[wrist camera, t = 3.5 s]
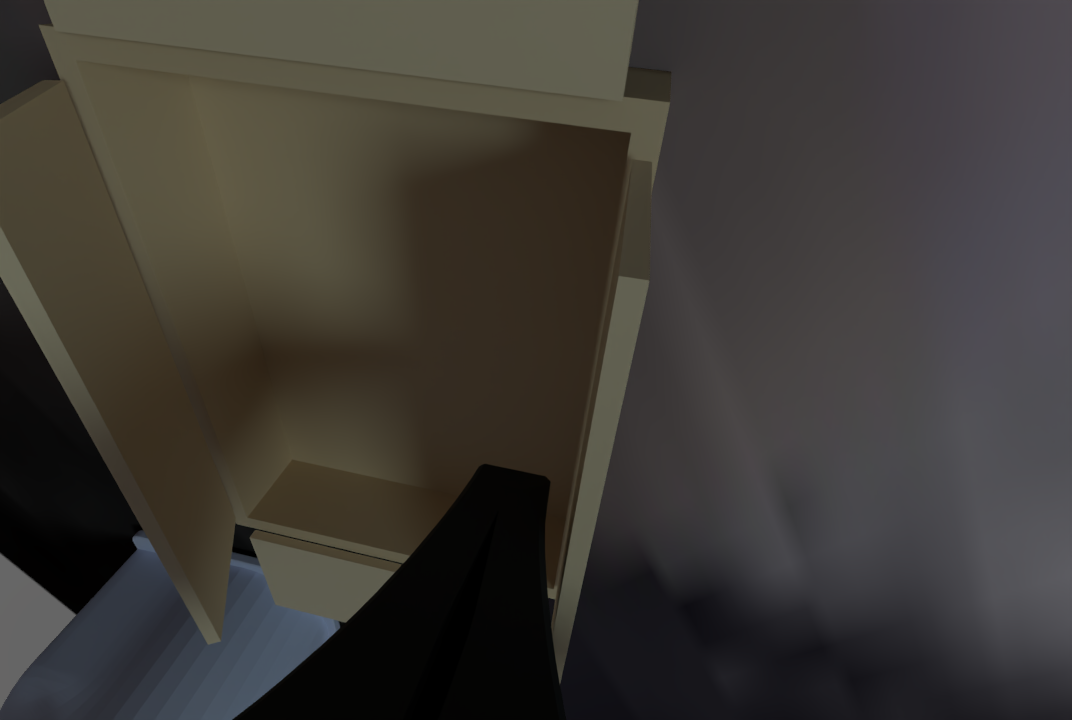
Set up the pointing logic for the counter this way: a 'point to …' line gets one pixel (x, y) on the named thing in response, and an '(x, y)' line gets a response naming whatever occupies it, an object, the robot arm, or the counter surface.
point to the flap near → (606, 396)
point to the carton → (369, 246)
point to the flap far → (109, 343)
